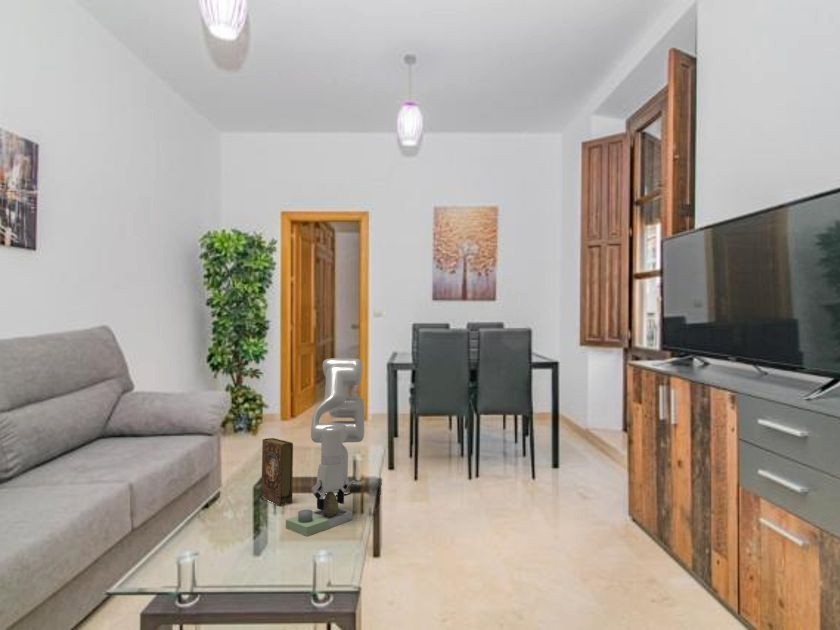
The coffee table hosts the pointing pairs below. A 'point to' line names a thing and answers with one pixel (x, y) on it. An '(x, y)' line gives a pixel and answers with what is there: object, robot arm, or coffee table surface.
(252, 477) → the coffee table surface
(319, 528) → the deck
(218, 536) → the coffee table surface
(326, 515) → the decorative egg
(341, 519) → the tray
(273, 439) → the book
